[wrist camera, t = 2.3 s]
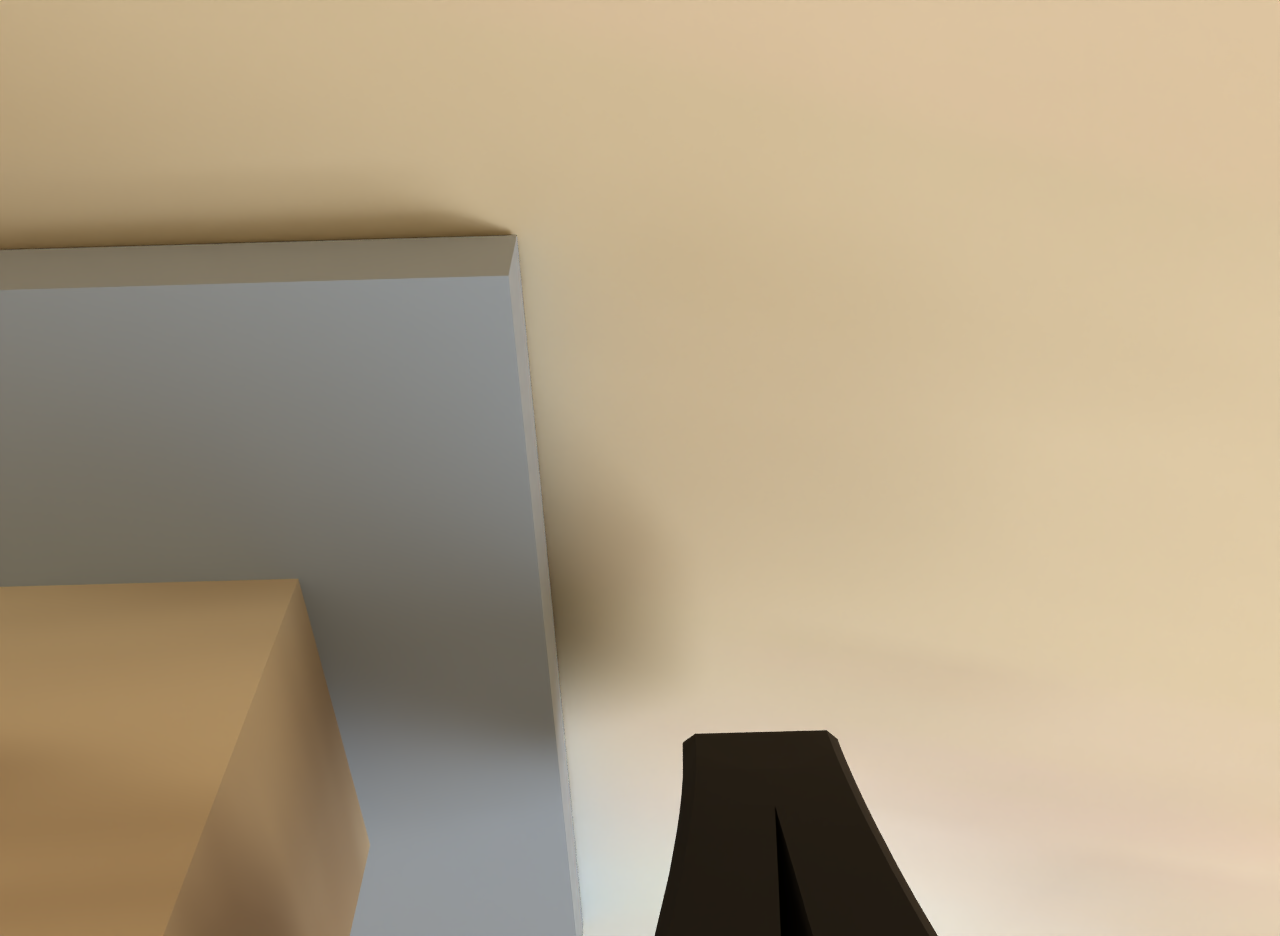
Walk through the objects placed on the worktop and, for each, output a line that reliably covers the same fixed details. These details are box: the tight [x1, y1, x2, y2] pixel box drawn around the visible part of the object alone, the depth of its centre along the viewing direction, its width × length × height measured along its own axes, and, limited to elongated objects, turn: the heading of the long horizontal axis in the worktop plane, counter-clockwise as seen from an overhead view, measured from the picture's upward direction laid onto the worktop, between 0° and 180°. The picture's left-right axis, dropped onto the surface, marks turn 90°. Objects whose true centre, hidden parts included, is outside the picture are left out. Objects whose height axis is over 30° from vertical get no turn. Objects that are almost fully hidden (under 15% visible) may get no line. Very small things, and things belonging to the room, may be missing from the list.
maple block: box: [0, 579, 370, 936], centre depth 10 cm, size 4×4×4 cm
